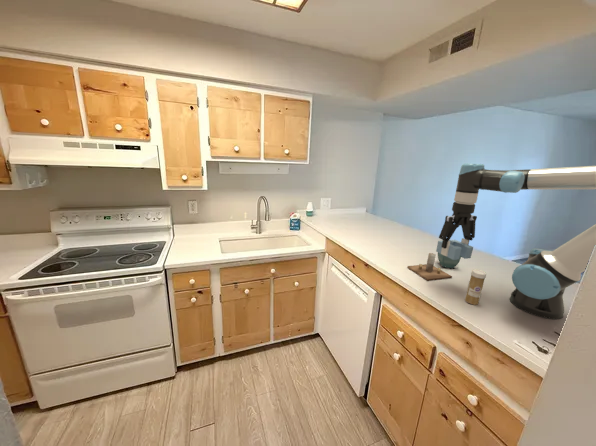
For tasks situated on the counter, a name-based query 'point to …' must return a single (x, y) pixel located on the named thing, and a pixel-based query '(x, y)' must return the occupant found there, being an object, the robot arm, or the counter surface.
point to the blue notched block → (456, 250)
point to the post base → (429, 275)
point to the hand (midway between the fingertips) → (453, 254)
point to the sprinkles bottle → (475, 286)
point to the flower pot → (447, 261)
